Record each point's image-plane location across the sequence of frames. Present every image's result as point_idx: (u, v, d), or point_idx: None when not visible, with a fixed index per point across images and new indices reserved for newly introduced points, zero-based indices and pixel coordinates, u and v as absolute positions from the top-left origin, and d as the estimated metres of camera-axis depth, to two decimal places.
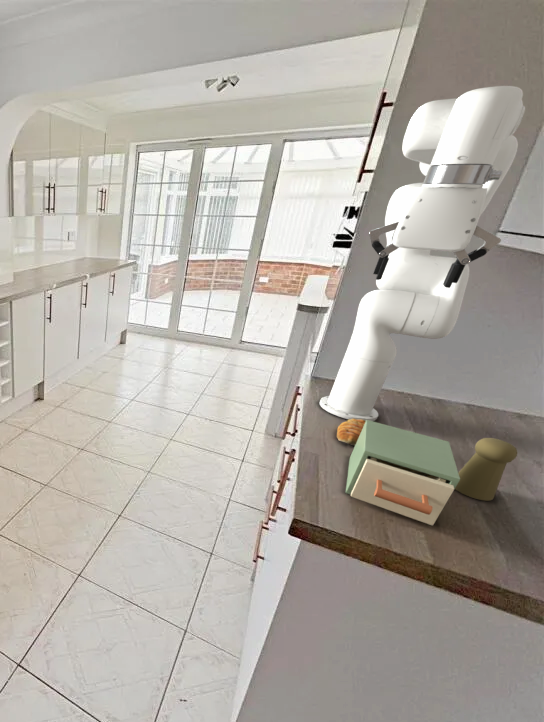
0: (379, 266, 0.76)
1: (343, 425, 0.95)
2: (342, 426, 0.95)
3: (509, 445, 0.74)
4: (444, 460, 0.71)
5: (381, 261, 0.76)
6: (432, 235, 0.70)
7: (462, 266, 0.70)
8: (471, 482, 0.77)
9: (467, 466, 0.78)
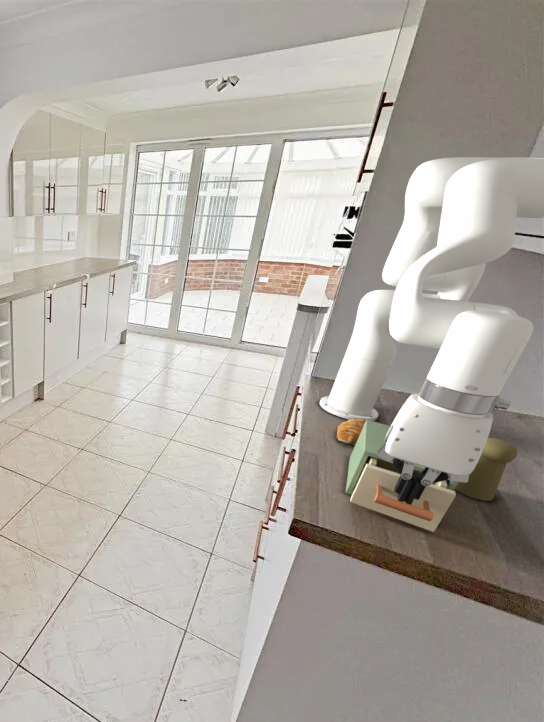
0: (401, 486, 0.66)
1: (343, 425, 0.95)
2: (342, 426, 0.95)
3: (509, 445, 0.74)
4: None
5: (404, 482, 0.65)
6: (431, 455, 0.61)
7: (423, 485, 0.64)
8: (471, 482, 0.77)
9: None
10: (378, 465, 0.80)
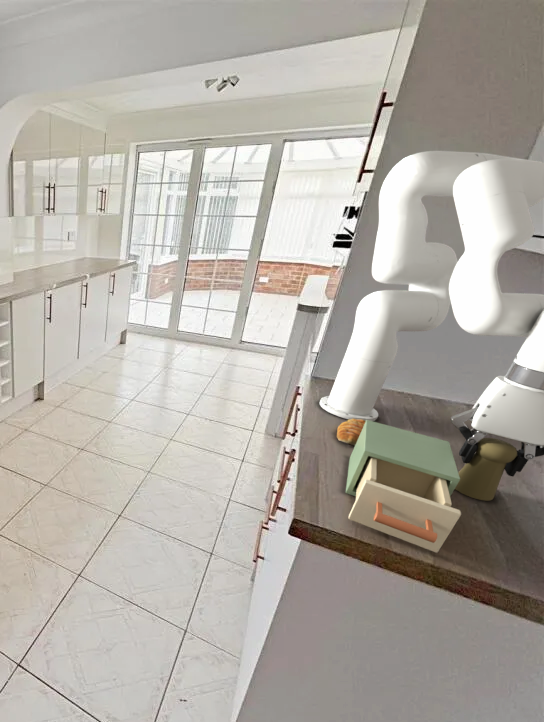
0: (467, 450, 0.77)
1: (343, 425, 0.95)
2: (342, 426, 0.95)
3: (509, 445, 0.74)
4: (444, 460, 0.71)
5: (469, 446, 0.77)
6: (515, 428, 0.71)
7: (526, 459, 0.72)
8: (471, 482, 0.77)
9: (467, 466, 0.78)
10: (378, 479, 0.76)
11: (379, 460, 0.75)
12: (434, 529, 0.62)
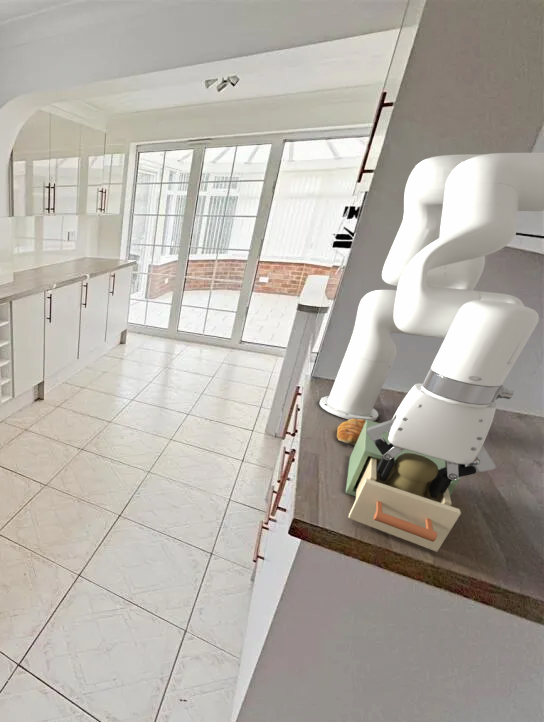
0: (383, 466, 0.68)
1: (343, 425, 0.95)
2: (342, 426, 0.95)
3: (429, 462, 0.64)
4: None
5: (386, 462, 0.68)
6: (433, 444, 0.62)
7: (449, 479, 0.63)
8: None
9: None
10: (378, 478, 0.76)
11: (379, 459, 0.75)
12: (434, 528, 0.63)
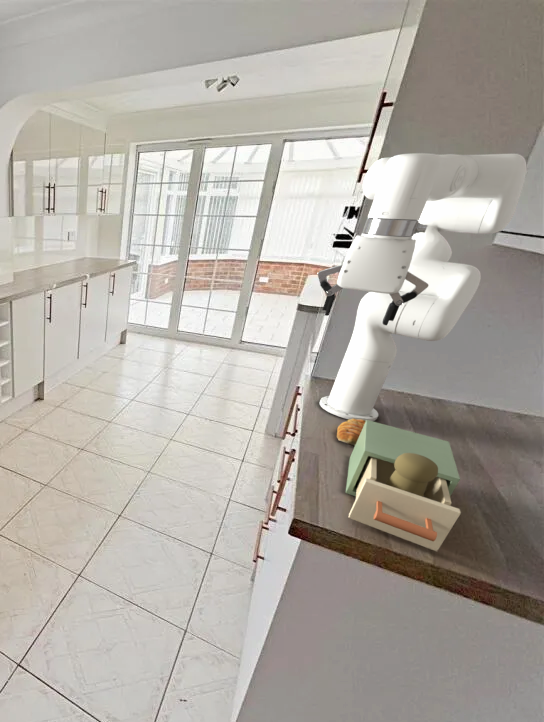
0: (327, 303, 0.85)
1: (343, 425, 0.95)
2: (342, 426, 0.95)
3: (429, 462, 0.64)
4: (444, 460, 0.71)
5: (328, 299, 0.84)
6: (370, 279, 0.78)
7: (397, 306, 0.78)
8: None
9: None
10: (378, 478, 0.76)
11: (379, 459, 0.75)
12: (434, 528, 0.63)
